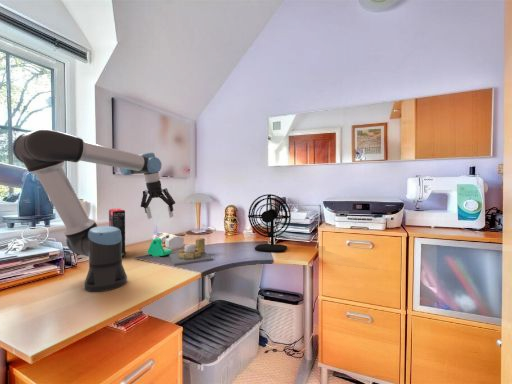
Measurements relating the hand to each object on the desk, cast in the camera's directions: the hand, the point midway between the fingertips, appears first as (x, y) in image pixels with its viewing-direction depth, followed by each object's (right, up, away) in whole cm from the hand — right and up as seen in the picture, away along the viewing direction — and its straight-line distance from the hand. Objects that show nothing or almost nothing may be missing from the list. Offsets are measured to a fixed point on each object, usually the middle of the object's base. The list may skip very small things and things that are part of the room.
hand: (160, 217), depth 144 cm
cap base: (+17, -23, -2) cm, 28 cm away
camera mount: (-3, -23, +6) cm, 24 cm away
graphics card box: (-28, -23, +5) cm, 36 cm away
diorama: (-7, -23, +30) cm, 39 cm away
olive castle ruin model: (+18, -21, 0) cm, 28 cm away
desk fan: (+63, -22, +16) cm, 69 cm away
